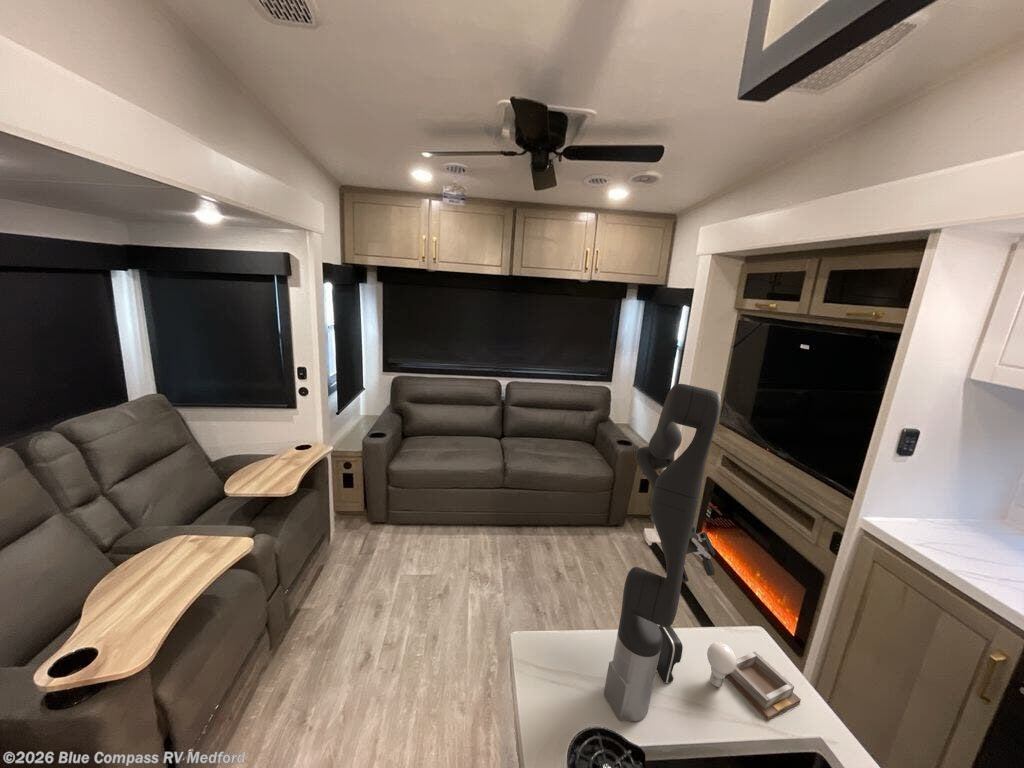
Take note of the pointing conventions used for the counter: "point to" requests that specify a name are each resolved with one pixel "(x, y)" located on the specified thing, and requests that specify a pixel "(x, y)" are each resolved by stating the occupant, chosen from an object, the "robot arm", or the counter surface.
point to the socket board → (763, 686)
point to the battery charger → (669, 653)
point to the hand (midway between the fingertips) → (698, 578)
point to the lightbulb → (720, 662)
